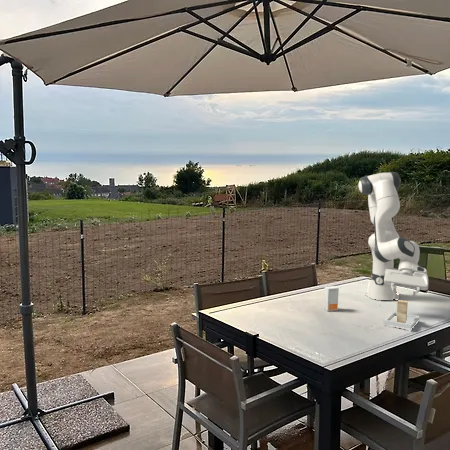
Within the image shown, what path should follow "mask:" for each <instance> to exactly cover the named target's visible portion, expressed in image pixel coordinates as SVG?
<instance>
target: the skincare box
mask: <svg viewBox="0 0 450 450" xmlns="http://www.w3.org/2000/svg"><path fill="white" fill-rule="evenodd" d="M323 295H324V296H323V310H324V311H326V312H332V311H334V312H335V311H338V309H339V308H338V307H339V287H337V286H335V285H333V286H332V285H331V286H324V294H323Z"/></svg>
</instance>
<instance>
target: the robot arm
mask: <svg viewBox="0 0 450 450" xmlns="http://www.w3.org/2000/svg"><path fill="white" fill-rule="evenodd" d="M401 182H402V181H401V177H400V175H399V174H398V172H396V171H390V172H379V173H375V174H371V175H365V176H362V177H360V178H359V180H358V190H359V192H360V194H362V195H364V196H367V197H368V198H367V201H368V202H367V203H368V204H367V205H368V211H369V218H370V222H371V223H372V224H373V228H374V230H373V231H374V233H371V235H370V236H369V237H368V241H367V243H368V246H369V248H370V250H371V256H372V272H371V276H370V278H371V280H369V281H368V285H367V292H364V295H365V296H366V297H368V298H369V299H372V300H375V299H376V301H381V300H392V299H399V300H400V297H399V295H397V294H396V293H397V292H398V291H397V287H401V288H407V289H413V292H412V296H413V297H417V294H418V293H419V292H420V291H428V290H429V276H428V271H427V269H426V268H425V267H422V266H420V265H419V264H418V263H419V261H420V254H421V253H420V252H421V251H420V246H419V244H418V243H417V242H415V241H413V240H409V239H407V238H405V237H403V236H402V237H400V235H399V233H398V231H396V227H395V224H394V221H393V219H392V218H394V217H395V216H396V215H397V214H398V213H399V210H400V209H401V208H400V207H401V202H400V198H399V193H398V191H397V190H399V188H400V187H401ZM398 259H399V264H398V268H396V267H395V268H394V260H398ZM414 289H415V291H414Z"/></svg>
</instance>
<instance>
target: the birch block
mask: <svg viewBox="0 0 450 450" xmlns="http://www.w3.org/2000/svg"><path fill="white" fill-rule="evenodd" d="M408 304H409V303H408V300H402V299H401V300H400V299H399V300H398V301H397V305H396V307H397V308H396V312H397V321H396V322H400V323H406V321H407V314H408Z"/></svg>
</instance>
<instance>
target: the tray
mask: <svg viewBox="0 0 450 450" xmlns="http://www.w3.org/2000/svg"><path fill="white" fill-rule="evenodd" d="M394 316H397V311H391V313H390V314H389V315H388V316H386V317H385V318H384V319H383V324H385V325H393V326H399V327H404V328H410V329H411V328H412V327H413V326H414V325H415V324H416V322H417V321H418V320H419V321H420V316H419V315H413V314H408V313H407V318H411V319H414V320H413V321H412V322H411V323H410V324H405V323H400V322H395V321H390V320H391V319H392V318H393V317H394Z"/></svg>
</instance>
